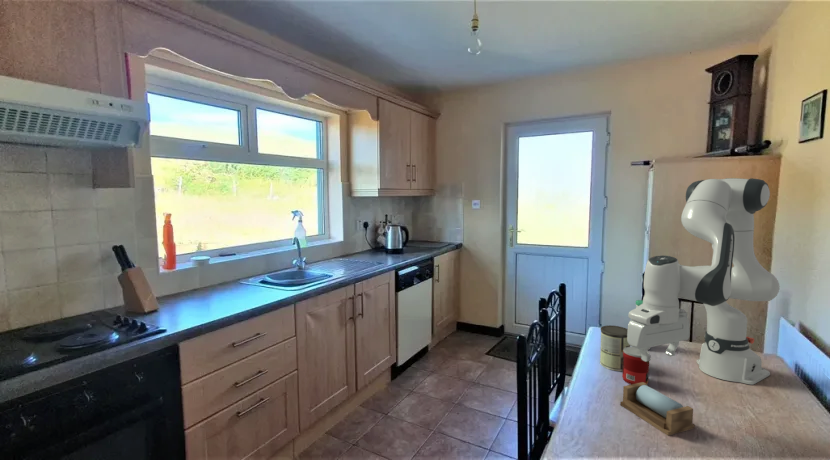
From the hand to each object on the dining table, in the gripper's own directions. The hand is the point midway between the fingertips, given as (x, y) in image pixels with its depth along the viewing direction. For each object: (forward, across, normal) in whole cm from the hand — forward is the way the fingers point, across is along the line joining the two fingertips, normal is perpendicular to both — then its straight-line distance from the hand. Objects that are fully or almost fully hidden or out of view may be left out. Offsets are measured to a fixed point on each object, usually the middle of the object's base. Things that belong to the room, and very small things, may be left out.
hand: (658, 357), depth 111 cm
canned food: (+18, -12, -18) cm, 28 cm away
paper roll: (+17, 0, 0) cm, 17 cm away
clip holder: (+18, 0, 0) cm, 18 cm away
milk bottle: (+19, -39, -40) cm, 59 cm away
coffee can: (+18, -15, -30) cm, 38 cm away
